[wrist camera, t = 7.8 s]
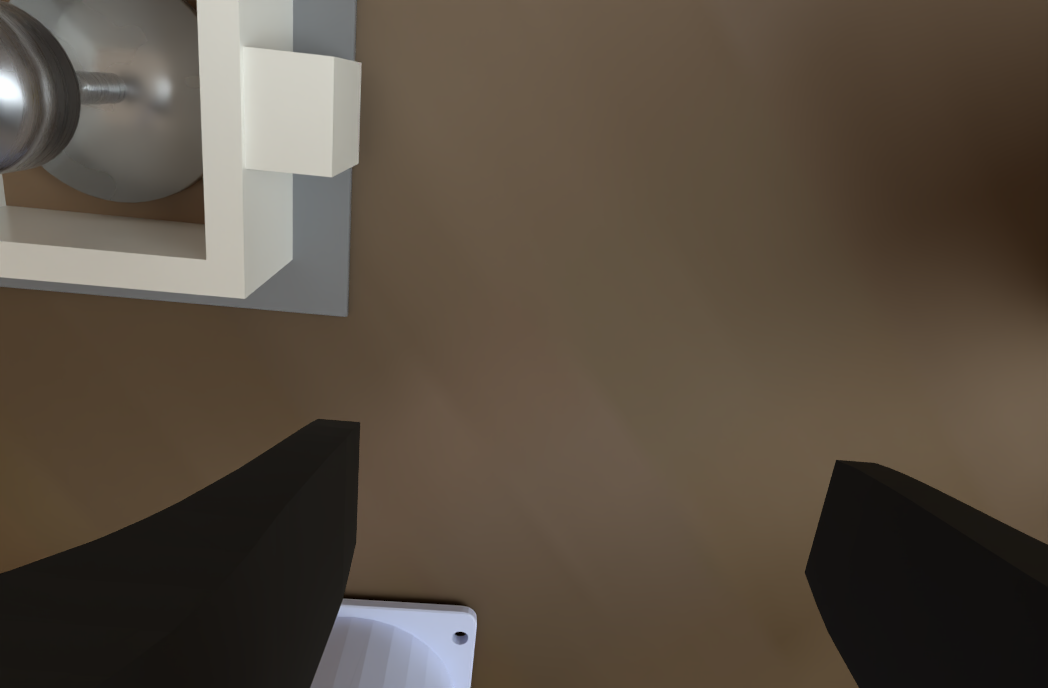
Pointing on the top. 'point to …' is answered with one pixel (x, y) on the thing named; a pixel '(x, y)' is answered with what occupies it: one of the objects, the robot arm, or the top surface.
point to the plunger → (102, 95)
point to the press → (222, 179)
